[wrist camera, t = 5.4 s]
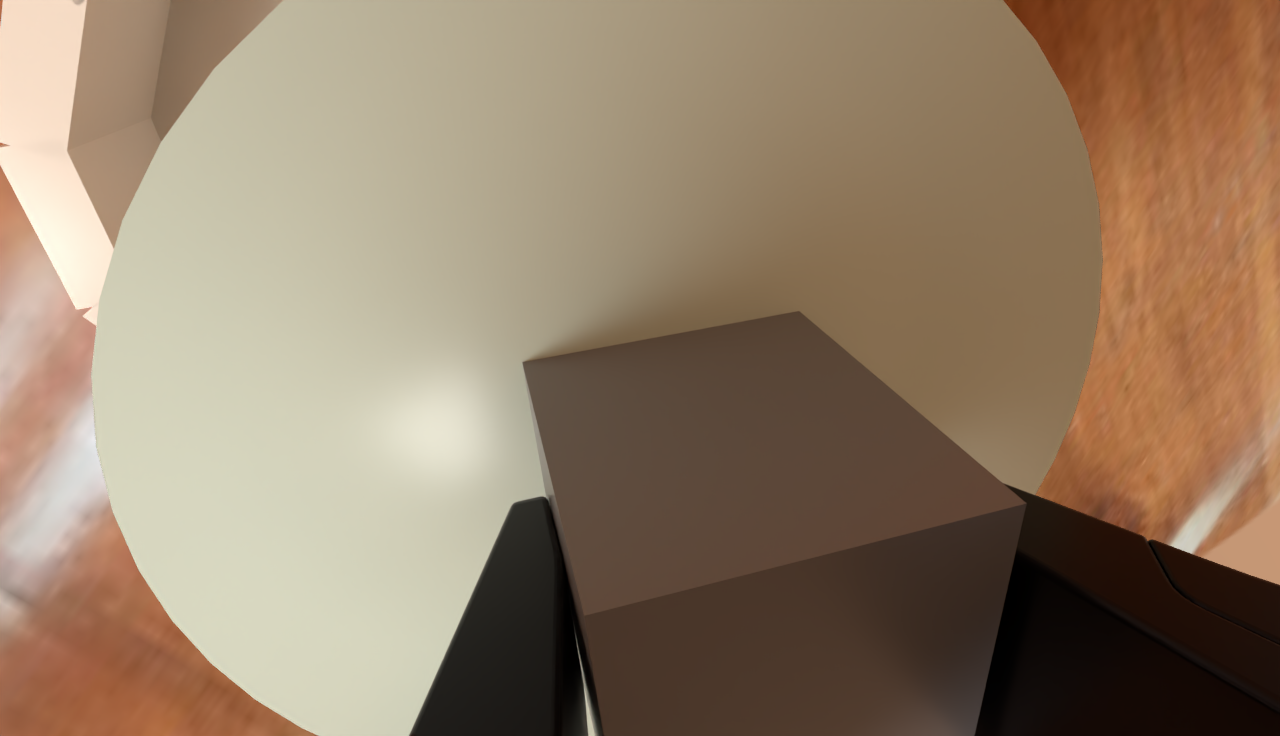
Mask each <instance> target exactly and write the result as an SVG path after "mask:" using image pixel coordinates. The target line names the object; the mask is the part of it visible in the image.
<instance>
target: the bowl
mask: <svg viewBox="0 0 1280 736" xmlns="http://www.w3.org/2000/svg"><path fill="white" fill-rule="evenodd" d="M282 1H283V0H3V5H2V16H1V26H0V143H3V144H4V145H1V146H0V165H1V167H2V169H3V171H4V173H5V175H6V177H7V178H8V180H9V182H10V184H11V186H12V188H13V190H14V192H15V194H16V196H17V197H18V199H19V201H20V203H21V205H22V207H23V209H24V211H25V213H26V215H27V216H28V218H29V220H30V222H31V224H32V226H33V228H34V230H35V232H36V234H37V235H38V237H39V239H40V241H41V243H42V245H43V247H44V249H45V251H46V252H47V254H48V256H49V258H50V260H51V262H52V264H53V266H54V268H55V270H56V271H57V273H58V275H59V277H60V279H61V281H62V283H63V285H64V287H65V289H66V290H67V292H68V294H69V296H70V298H71V300H72V302H73V304H74V306H75V308H76V309H82V308H88V307H92V308H91V309H90V310H89V311H88V312H87V313H86V314H84V315H83V317H84V318H86V319H87V320H89V321H90V322H91V323H93V324H94V325H96V326H97V317H98V307H99V299H100V295H101V292H102V288H103V285H104V282H105V278H106V275H107V271H108V268H109V264H110V261H111V258H112V254H113V251H114V247H115V244H116V240H117V237H118V234H119V230H120V227H121V223H122V220H123V218H124V216H125V214H126V212H127V210H128V208H129V206H130V204H131V202H132V200H133V198H134V196H135V194H136V192H137V190H138V188H139V186H140V184H141V182H142V180H143V177H144V175H145V173H146V171H147V169H148V167H149V165H150V163H151V161H152V159H153V157H154V155H155V153H156V151H157V149H158V147H159V145H160V143H161V141H162V140H163V139H164V137H165V136H166V135H167V133H168V132H169V130H170V129H171V128H172V126H173V125H174V123H175V122H176V121H177V119H178V118H179V117H180V115H181V114H182V112H183V111H184V110H185V108H186V107H187V105H188V104H189V103H190V101H191V100H192V99H193V97H194V96H195V94H196V93H197V92H198V90H199V89H200V87H201V86H202V85H203V83H204V82H205V81H206V79H207V78H208V76H209V75H210V74H211V72H212V71H213V69H214V68H215V67H216V66H217V65H218V64H219V63H220V62H221V61H222V60H223V59H224V58H225V57H226V56H227V55H228V54H229V53H230V52H231V51H232V50H233V49H234V48H235V47H236V46H237V45H238V44H239V43H240V42H241V41H242V40H243V39H245V38H246V37H247V36H248V35H249V34H250V33H251V32H252V31H253V30H254V29H255V28H256V27H257V26H258V25H259V24H260V23H261V22H262V21H263V20H264V19H265V18H266V17H267V16H268V15H269V14H270V13H271V12H272V11H273V10H274V9H275V8H276V7H277V6H278V5H279V4H280V3H281V2H282Z"/></svg>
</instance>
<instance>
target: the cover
mask: <svg viewBox="0 0 1280 736" xmlns="http://www.w3.org/2000/svg"><path fill="white" fill-rule="evenodd" d="M1102 263H1103V256H1102V241H1101V226H1100V211H1099V202H1098V197H1097V192H1096V188H1095V183H1094V178H1093V173H1092V169H1091V164H1090V159H1089V154H1088V150H1087V147H1086V144H1085V142H1084V139H1083V136H1082V134H1081V131H1080V128H1079V126H1078V123H1077V120H1076V118H1075V115H1074V112H1073V110H1072V107H1071V104H1070V102H1069V99H1068V96H1067V94H1066V92H1065V90H1064V88H1063V87H1062V85H1061V83H1060V81H1059V80H1058V78H1057V76H1056V74H1055V73H1054V71H1053V69H1052V67H1051V66H1050V64H1049V62H1048V60H1047V59H1046V57H1045V55H1044V53H1043V52H1042V50H1041V48H1040V46H1039V45H1038V43H1037V41H1036V40H1035V39H1034V37H1033V36H1032V35H1031V34H1030V32H1029V31H1028V30H1027V29H1026V28H1025V26H1024V25H1023V24H1022V23H1021V21H1020V20H1019V19H1018V18H1017V17H1016V15H1015V14H1014V13H1013V12H1012V10H1011V9H1010V8H1009V7H1008V6H1007V4H1006V3H1005V2H1004V1H1003V0H283V1H282V2H281V3H280V4H279V5H278V6H277V7H276V8H275V9H274V10H273V11H272V12H271V13H270V14H269V15H268V16H267V17H266V18H265V19H264V20H263V21H262V22H261V23H260V24H259V25H258V26H257V27H256V28H255V29H254V30H253V31H252V32H251V33H250V34H249V35H248V36H247V37H246V38H245V39H243V40H242V41H241V42H240V43H239V44H238V45H237V46H236V47H235V48H234V49H233V50H232V51H231V52H230V53H229V54H228V55H227V56H226V57H225V58H224V59H223V60H222V61H221V62H220V63H219V64H218V65H217V66H216V67H215V68H214V69H213V71H212V72H211V74H210V75H209V76H208V78H207V79H206V81H205V82H204V83H203V85H202V86H201V87H200V89H199V90H198V92H197V93H196V94H195V96H194V97H193V99H192V100H191V101H190V103H189V104H188V105H187V107H186V108H185V110H184V111H183V112H182V114H181V115H180V117H179V118H178V119H177V121H176V122H175V123H174V125H173V126H172V128H171V129H170V130H169V132H168V133H167V135H166V136H165V137H164V139H163V140H162V141H161V143H160V145H159V147H158V149H157V151H156V153H155V155H154V157H153V159H152V161H151V163H150V165H149V167H148V169H147V171H146V173H145V175H144V177H143V180H142V182H141V184H140V186H139V188H138V190H137V192H136V194H135V196H134V198H133V200H132V202H131V204H130V206H129V208H128V210H127V212H126V214H125V216H124V218H123V220H122V223H121V227H120V230H119V234H118V237H117V240H116V244H115V247H114V251H113V254H112V258H111V261H110V264H109V268H108V271H107V275H106V278H105V282H104V285H103V288H102V292H101V295H100V299H99V307H98V317H97V326H96V335H95V344H94V354H93V363H92V372H91V379H92V394H93V408H94V422H95V436H96V448H97V452H98V456H99V459H100V463H101V467H102V471H103V475H104V479H105V483H106V487H107V491H108V495H109V499H110V503H111V507H112V511H113V514H114V516H115V518H116V520H117V523H118V525H119V527H120V529H121V532H122V534H123V536H124V538H125V541H126V543H127V545H128V547H129V550H130V552H131V554H132V556H133V559H134V561H135V563H136V565H137V568H138V570H139V571H140V573H141V574H142V576H143V577H144V579H145V580H146V582H147V583H148V585H149V586H150V588H151V590H152V591H153V593H154V594H155V596H156V597H157V599H158V600H159V602H160V603H161V605H162V606H163V608H164V609H165V611H166V612H167V614H168V615H169V617H170V618H171V620H172V621H173V622H174V623H175V624H176V625H177V627H178V628H179V629H180V630H181V631H182V632H183V633H184V634H185V635H186V636H187V638H188V639H189V640H190V641H191V642H192V643H193V644H194V645H195V646H196V647H197V648H198V650H199V651H200V652H201V653H202V654H203V655H204V656H205V657H206V658H207V659H208V661H209V662H210V663H211V664H212V665H214V666H215V667H216V668H217V669H218V670H220V671H221V672H222V673H223V674H225V675H226V676H227V677H228V678H229V679H231V680H232V681H233V682H234V683H236V684H237V685H238V686H239V687H241V688H242V689H243V690H244V691H245V692H247V693H248V694H249V695H250V696H252V697H253V698H254V699H255V700H257V701H258V702H260V703H262V704H263V705H265V706H267V707H268V708H270V709H272V710H273V711H275V712H276V713H278V714H280V715H281V716H283V717H285V718H286V719H288V720H289V721H291V722H293V723H294V724H296V725H298V726H299V727H301V728H303V729H305V730H307V731H309V732H312V733H314V734H316V735H318V736H409V734H410V732H411V730H412V727H413V725H414V723H415V721H416V718H417V716H418V714H419V712H420V709H421V707H422V705H423V703H424V700H425V698H426V696H427V694H428V691H429V689H430V687H431V685H432V682H433V680H434V678H435V676H436V673H437V671H438V669H439V667H440V664H441V662H442V660H443V658H444V655H445V653H446V651H447V649H448V646H449V644H450V642H451V640H452V637H453V635H454V633H455V631H456V628H457V626H458V624H459V622H460V619H461V617H462V615H463V613H464V610H465V608H466V606H467V604H468V601H469V599H470V597H471V595H472V592H473V590H474V588H475V586H476V583H477V581H478V579H479V577H480V574H481V572H482V570H483V568H484V565H485V563H486V561H487V559H488V556H489V554H490V552H491V550H492V547H493V545H494V543H495V541H496V538H497V536H498V534H499V532H500V529H501V527H502V525H503V523H504V520H505V518H506V516H507V514H508V511H509V509H510V507H511V505H512V504H513V503H514V502H517V501H521V500H526V499H531V498H535V497H540V496H544V497H546V498H547V499H548V501H549V505H550V509H551V513H552V517H553V521H554V525H555V529H556V533H557V537H558V541H559V545H560V549H561V554H562V560H563V565H564V571H565V577H566V583H567V589H568V595H569V601H570V606H571V612H572V618H573V624H574V630H575V636H576V642H577V648H578V654H579V659H580V665H581V671H582V677H583V683H584V692H585V701H586V713H587V726H588V736H974V735H975V731H976V726H977V722H978V717H979V713H980V709H981V704H982V700H983V695H984V691H985V686H986V682H987V677H988V673H989V669H990V664H991V660H992V655H993V651H994V646H995V642H996V637H997V633H998V629H999V624H1000V620H1001V615H1002V611H1003V606H1004V602H1005V597H1006V593H1007V589H1008V584H1009V580H1010V575H1011V571H1012V566H1013V562H1014V557H1015V553H1016V549H1017V544H1018V540H1019V535H1020V531H1021V526H1022V522H1023V517H1024V513H1025V508H1026V504H1027V503H1026V502H1024V501H1023V500H1022V499H1021V498H1020V497H1018V496H1017V495H1016V494H1015V493H1014V492H1013V491H1011V490H1010V489H1009V488H1008V487H1007V486H1005V485H1004V484H1007V485H1010V486H1012V487H1015V488H1018V489H1020V490H1023V491H1025V492H1028V493H1031V494H1033V495H1035V494H1036V493H1037V491H1038V489H1039V487H1040V485H1041V484H1042V482H1043V480H1044V478H1045V476H1046V474H1047V473H1048V471H1049V469H1050V467H1051V465H1052V463H1053V462H1054V460H1055V458H1056V455H1057V453H1058V451H1059V448H1060V446H1061V444H1062V441H1063V439H1064V437H1065V434H1066V432H1067V430H1068V427H1069V425H1070V423H1071V420H1072V418H1073V416H1074V413H1075V410H1076V407H1077V404H1078V400H1079V397H1080V394H1081V391H1082V387H1083V384H1084V381H1085V378H1086V374H1087V371H1088V368H1089V365H1090V360H1091V354H1092V349H1093V344H1094V338H1095V333H1096V328H1097V322H1098V317H1099V310H1100V294H1101V279H1102ZM1003 483H1004V484H1003Z"/></svg>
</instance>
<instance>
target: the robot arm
mask: <svg viewBox="0 0 1280 736" xmlns="http://www.w3.org/2000/svg"><path fill="white" fill-rule="evenodd" d="M1003 484H1004V483H1003ZM1004 485H1005V486H1007V487H1008V488H1009V489H1010V490H1011V491H1013V492H1014V493H1015V494H1016V495H1017V496H1018V497H1020V498H1021V499H1022V500H1023V501H1024V502H1026V503H1027V504H1026V508H1025V513H1024V517H1023V522H1022V526H1021V531H1020V535H1019V540H1018V544H1017V549H1016V553H1015V557H1014V562H1013V566H1012V571H1011V575H1010V580H1009V584H1008V589H1007V593H1006V597H1005V602H1004V606H1003V611H1002V615H1001V620H1000V624H999V629H998V633H997V637H996V642H995V646H994V651H993V655H992V660H991V664H990V669H989V673H988V677H987V682H986V686H985V691H984V695H983V700H982V704H981V709H980V713H979V717H978V722H977V726H976V731H975V735H974V736H1280V585H1278V584H1275V583H1272V582H1269V581H1266V580H1263V579H1260V578H1257V577H1254V576H1251V575H1248V574H1245V573H1242V572H1239V571H1237V570H1234V569H1231V568H1229V567H1226V566H1223V565H1220V564H1217V563H1215V562H1212V561H1209V560H1207V559H1204V558H1201V557H1198V556H1195V555H1193V554H1190V553H1187V552H1185V551H1182V550H1180V549H1177V548H1174V547H1172V546H1169V545H1166V544H1164V543H1161V542H1159V541H1156V540H1149V541H1147V540H1146V538H1145V537H1144V536H1142V535H1140V534H1137V533H1134V532H1132V531H1129V530H1126V529H1124V528H1121V527H1118V526H1116V525H1113V524H1110V523H1108V522H1105V521H1102V520H1100V519H1097V518H1094V517H1092V516H1089V515H1087V514H1084V513H1081V512H1079V511H1076V510H1073V509H1071V508H1068V507H1065V506H1063V505H1060V504H1057V503H1055V502H1052V501H1049V500H1047V499H1044V498H1041V497H1039V496H1036V495H1033V494H1031V493H1028V492H1025V491H1023V490H1020V489H1018V488H1015V487H1012V486H1010V485H1007V484H1004ZM409 736H588V726H587V713H586V701H585V692H584V683H583V677H582V671H581V665H580V659H579V654H578V648H577V642H576V636H575V630H574V624H573V618H572V612H571V606H570V601H569V595H568V589H567V583H566V577H565V571H564V565H563V560H562V554H561V549H560V545H559V541H558V537H557V533H556V529H555V525H554V521H553V517H552V513H551V509H550V505H549V501H548V499H547V498H546V497H544V496H540V497H535V498H531V499H526V500H521V501H517V502H514V503H513V504H512V505H511V507H510V509H509V511H508V514H507V516H506V518H505V520H504V523H503V525H502V527H501V529H500V532H499V534H498V536H497V538H496V541H495V543H494V545H493V547H492V550H491V552H490V554H489V556H488V559H487V561H486V563H485V565H484V568H483V570H482V572H481V574H480V577H479V579H478V581H477V583H476V586H475V588H474V590H473V592H472V595H471V597H470V599H469V601H468V604H467V606H466V608H465V610H464V613H463V615H462V617H461V619H460V622H459V624H458V626H457V628H456V631H455V633H454V635H453V637H452V640H451V642H450V644H449V646H448V649H447V651H446V653H445V655H444V658H443V660H442V662H441V664H440V667H439V669H438V671H437V673H436V676H435V678H434V680H433V682H432V685H431V687H430V689H429V691H428V694H427V696H426V698H425V700H424V703H423V705H422V707H421V709H420V712H419V714H418V716H417V718H416V721H415V723H414V725H413V727H412V730H411V732H410V734H409Z"/></svg>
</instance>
